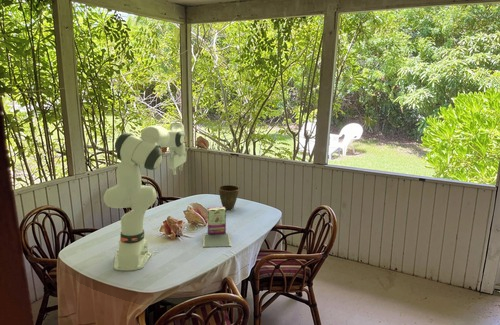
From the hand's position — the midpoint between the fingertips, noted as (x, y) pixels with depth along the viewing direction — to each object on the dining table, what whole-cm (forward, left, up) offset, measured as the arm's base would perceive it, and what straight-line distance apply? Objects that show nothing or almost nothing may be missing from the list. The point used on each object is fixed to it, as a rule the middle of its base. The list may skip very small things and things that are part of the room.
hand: (177, 172), depth 211 cm
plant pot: (+41, -34, -39) cm, 66 cm away
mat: (-14, -24, -39) cm, 47 cm away
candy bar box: (-3, -24, -39) cm, 45 cm away
